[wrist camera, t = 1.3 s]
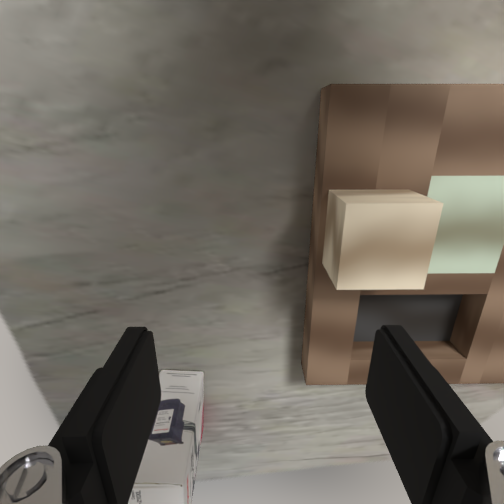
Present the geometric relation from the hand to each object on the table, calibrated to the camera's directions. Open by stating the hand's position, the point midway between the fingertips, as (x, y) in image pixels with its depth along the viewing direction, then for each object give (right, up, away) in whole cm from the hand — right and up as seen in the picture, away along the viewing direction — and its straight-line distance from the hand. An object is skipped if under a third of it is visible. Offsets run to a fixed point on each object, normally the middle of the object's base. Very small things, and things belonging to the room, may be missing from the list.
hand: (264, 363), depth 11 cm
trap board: (+17, +4, +18) cm, 25 cm away
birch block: (+8, +6, +14) cm, 17 cm away
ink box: (-8, -13, +25) cm, 29 cm away
